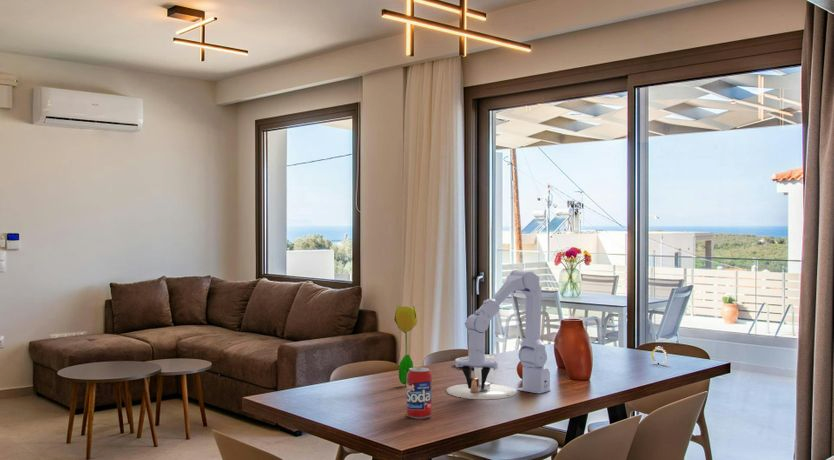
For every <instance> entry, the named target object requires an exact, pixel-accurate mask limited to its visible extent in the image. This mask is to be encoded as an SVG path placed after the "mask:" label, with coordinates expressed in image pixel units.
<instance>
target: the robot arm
mask: <svg viewBox="0 0 834 460" xmlns="http://www.w3.org/2000/svg"><path fill="white" fill-rule="evenodd" d="M515 291H516V292H517V291H521V292H522V294H524V295H525V297H526V298H525V330H524V332H525V333H524V334H525V335H524V340H522V341H521V342H520V348H519V350H518V355H517V356H518V359H519V361H520V363H521V365H522V387H519V388H517V390H518V391H523V392H527V393H528V392H529V393H535V394H543V393H546V392H550V391H551V390H552V389H551V383H550V382H551V379H550V378H551V373H550V370H549V368H547V367H545V365H546V363H547V361H548V353H547V352H546V351H547V349H546V345H545V343H544V342H543V341H542V339H541V328H542V327H541V326H542V288H541V285H540V276H539V275H538V274H537V273H536V272H534V271H532V270H529V271H527V270H519V269H514V270H512V271H511V272H510V273H509V275H507V276H506V280H505V281H504V283H503V284H502V285H501V287H500V288H499V290H497V292H496V293H495V294H494V295H493V296H492V298H487V299H484V300H483V301H482V304H481V306H480V307H479V308H478V309H476V310H475V311H474V313H473V314H470V315H469V316H468V317H467V318H466V321H465V322H464V326H465V328H466V329H467V334H468V344H467V345H468V350H467V351H468V353H467V354H468V355H467V356H468V361H455V366H454V367H455V368H459V367H460V368H462V369H461V371H462V373H463V375H464V378H465V380H466V382H467V383H466V384H468V389H470V378H471V377H472V370H473V369H472V367H475V368H483V369H481V375H482V383H481V389H484V386H485V381H486V378H487V376H488V373H489V371H490V368H493V369H494V370H498V368H499V367H498V366H499V365H498V364H499V363H498V362H497V363H495V362H496V361H495V362H486V361H485V355H486V354H485V353H486V331H487V330H488V329H489V325H490V322H491V320H492V319H493V318H494V317H495V316H496V315H497V314H498V312H500V308H501V307H500V305H502V303H503V302H504V301H505V300H506V299H508V297H509V296H511V294H512V293H514V292H515ZM471 365H472V366H471Z"/></svg>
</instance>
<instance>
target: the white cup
mask: <svg viewBox="0 0 834 460" xmlns="http://www.w3.org/2000/svg"><path fill="white" fill-rule="evenodd" d="M485 361H486V362H494V361H495V356H494V355H492V354H485ZM481 369H483V368H475V367H474V369H473V371H474V377H477V378H479V381H482V375H481ZM494 370H495V369H493V368H490V371H489V373H488V376H487V378H486V381H487V382H490V384H493V382H494Z"/></svg>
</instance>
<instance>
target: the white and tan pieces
mask: <svg viewBox="0 0 834 460" xmlns="http://www.w3.org/2000/svg"><path fill="white" fill-rule="evenodd" d="M481 383H482V381H479V378H477V377H475V376H473V377H472V376H471V378H470V393H472V394H477V393H479V391H480V390H489V389H490V384H491V383H490V382H487V381H485V386H484V389H481Z"/></svg>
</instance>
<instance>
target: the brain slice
mask: <svg viewBox="0 0 834 460" xmlns="http://www.w3.org/2000/svg"><path fill="white" fill-rule="evenodd" d="M454 361H455V362H456V361H468V355H467V356H462V357H461V356H460V357H457V358H455V359H454ZM494 362H495V363H498V362H497V361H495V360H494ZM471 366H472V365H471ZM472 370H474V367H472Z"/></svg>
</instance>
